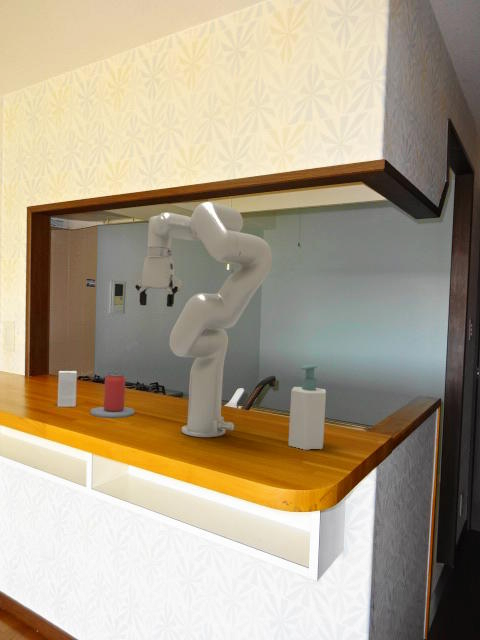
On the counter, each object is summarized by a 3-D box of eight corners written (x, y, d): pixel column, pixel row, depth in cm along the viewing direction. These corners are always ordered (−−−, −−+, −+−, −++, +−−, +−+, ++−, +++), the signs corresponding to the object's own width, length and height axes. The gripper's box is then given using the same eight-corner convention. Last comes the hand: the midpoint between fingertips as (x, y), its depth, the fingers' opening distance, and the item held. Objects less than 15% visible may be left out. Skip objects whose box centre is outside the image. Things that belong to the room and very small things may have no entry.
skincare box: (75, 404, 176) (77, 370, 175) (75, 406, 171) (77, 372, 171) (57, 404, 174) (58, 370, 173) (56, 407, 170) (58, 372, 169)
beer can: (118, 413, 160) (120, 376, 160) (99, 411, 161) (101, 374, 161) (127, 409, 167) (128, 373, 166) (109, 407, 168) (110, 372, 168)
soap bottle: (280, 444, 136) (285, 364, 135) (300, 439, 142) (304, 362, 142) (312, 452, 129) (317, 368, 129) (330, 446, 136) (335, 366, 135)
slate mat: (141, 411, 169) (141, 408, 169) (120, 419, 155) (120, 416, 155) (105, 407, 173) (105, 404, 173) (81, 414, 159) (81, 411, 159)
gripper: (187, 256, 165) (184, 307, 165) (140, 255, 170) (138, 305, 170) (178, 253, 158) (175, 306, 158) (129, 252, 163) (127, 304, 163)
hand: (156, 305), depth 164 cm, fingers open, 9 cm apart
